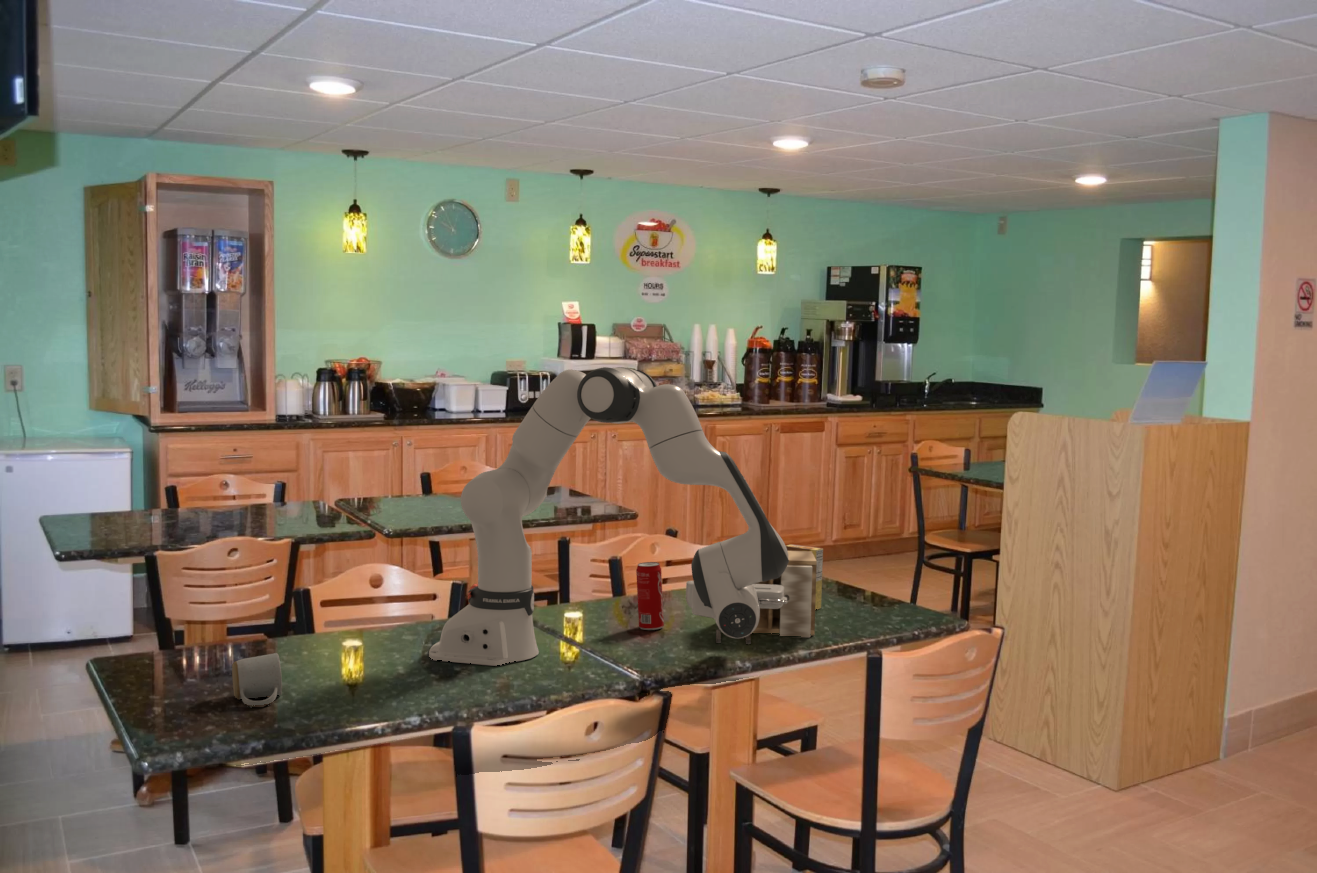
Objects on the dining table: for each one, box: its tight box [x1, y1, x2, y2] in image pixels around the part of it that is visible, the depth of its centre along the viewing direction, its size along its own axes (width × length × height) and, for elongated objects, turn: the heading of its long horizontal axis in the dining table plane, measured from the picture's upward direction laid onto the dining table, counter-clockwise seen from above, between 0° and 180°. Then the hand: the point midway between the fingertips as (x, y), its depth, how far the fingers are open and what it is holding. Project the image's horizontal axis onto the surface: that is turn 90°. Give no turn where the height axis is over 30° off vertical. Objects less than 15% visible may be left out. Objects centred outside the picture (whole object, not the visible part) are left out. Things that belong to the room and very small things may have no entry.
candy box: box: [786, 543, 824, 611], centre depth 280 cm, size 9×4×15 cm, turn 55°
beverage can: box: [635, 561, 665, 631], centre depth 256 cm, size 6×6×15 cm
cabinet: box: [715, 551, 817, 645], centre depth 254 cm, size 22×22×17 cm
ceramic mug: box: [231, 652, 283, 706], centre depth 201 cm, size 11×8×8 cm
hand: (734, 585), depth 235 cm, fingers closed on door, 3 cm apart
